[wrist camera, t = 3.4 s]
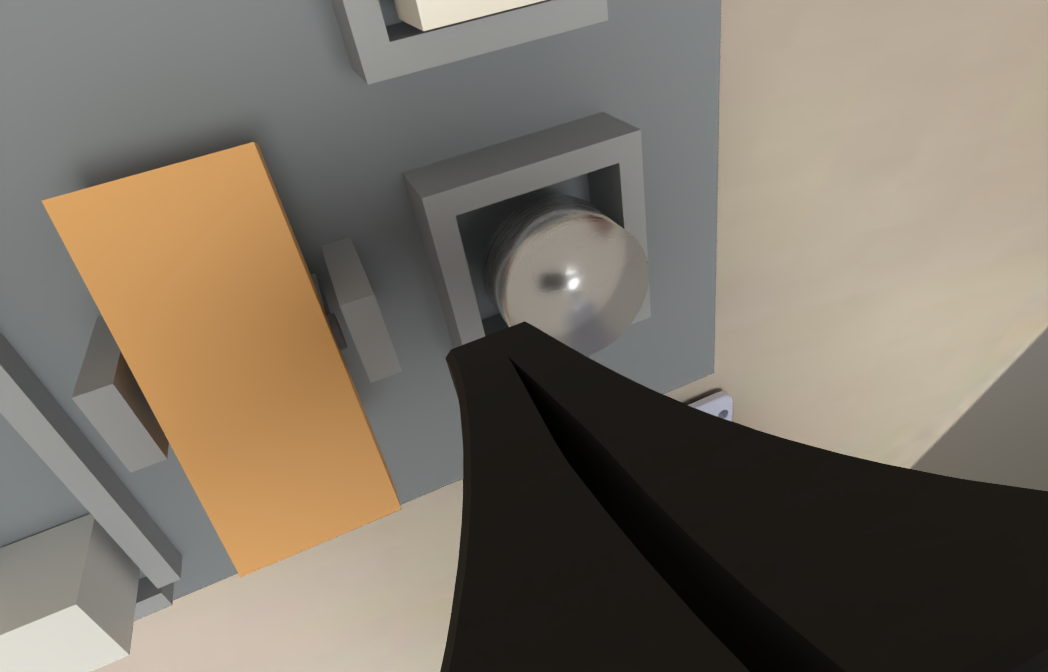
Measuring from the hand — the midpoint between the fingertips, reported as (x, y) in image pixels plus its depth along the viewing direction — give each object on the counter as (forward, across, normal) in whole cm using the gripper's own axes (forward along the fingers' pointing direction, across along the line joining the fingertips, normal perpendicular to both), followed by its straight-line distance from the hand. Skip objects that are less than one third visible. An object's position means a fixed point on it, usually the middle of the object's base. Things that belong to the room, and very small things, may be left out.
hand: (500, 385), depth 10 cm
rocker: (+5, +4, +1) cm, 6 cm away
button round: (+5, -3, +1) cm, 6 cm away
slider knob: (+7, +11, +6) cm, 14 cm away
